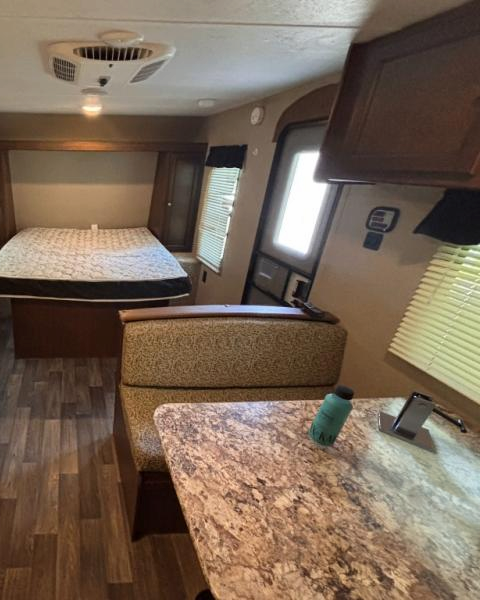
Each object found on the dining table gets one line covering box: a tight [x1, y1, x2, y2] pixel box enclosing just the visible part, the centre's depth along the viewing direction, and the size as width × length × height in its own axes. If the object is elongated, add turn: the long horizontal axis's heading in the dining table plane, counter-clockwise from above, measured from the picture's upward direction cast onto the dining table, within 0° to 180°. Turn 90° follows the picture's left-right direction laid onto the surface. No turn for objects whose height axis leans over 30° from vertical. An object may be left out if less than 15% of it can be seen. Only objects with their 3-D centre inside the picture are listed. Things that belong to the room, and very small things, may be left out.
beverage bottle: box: [308, 384, 355, 447], centre depth 90 cm, size 6×7×20 cm
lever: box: [412, 395, 468, 434], centre depth 92 cm, size 12×5×2 cm, turn 50°
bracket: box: [377, 389, 437, 453], centre depth 96 cm, size 12×10×14 cm
